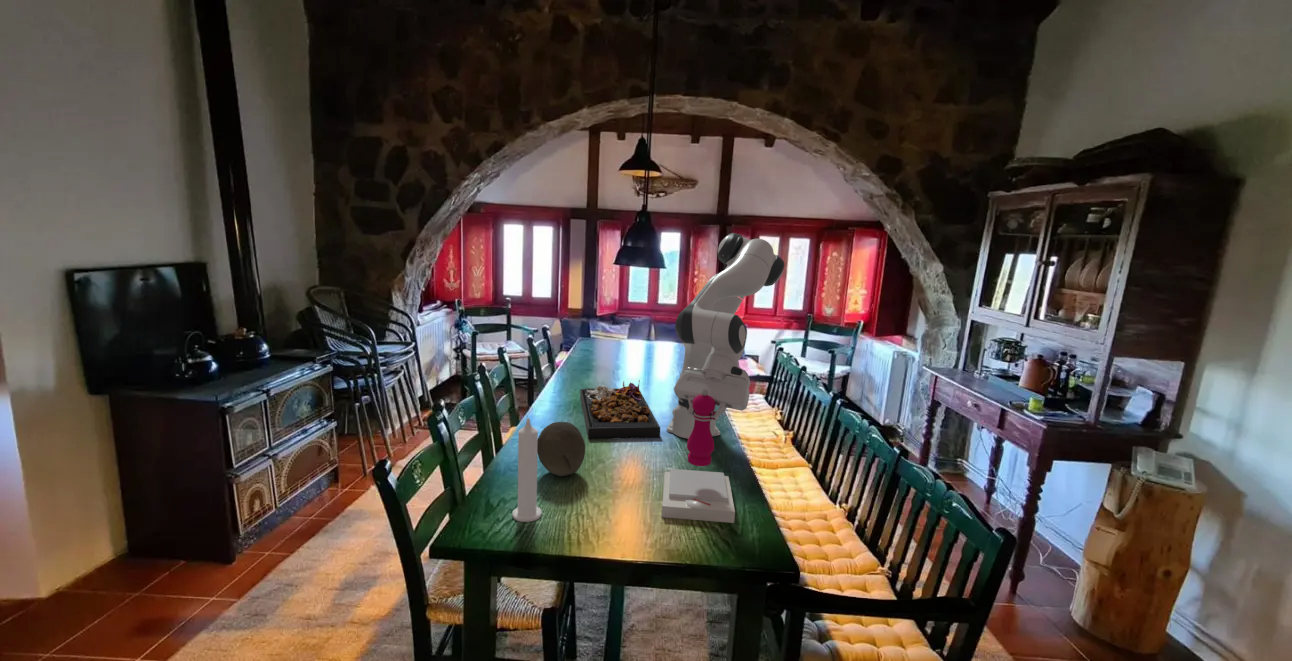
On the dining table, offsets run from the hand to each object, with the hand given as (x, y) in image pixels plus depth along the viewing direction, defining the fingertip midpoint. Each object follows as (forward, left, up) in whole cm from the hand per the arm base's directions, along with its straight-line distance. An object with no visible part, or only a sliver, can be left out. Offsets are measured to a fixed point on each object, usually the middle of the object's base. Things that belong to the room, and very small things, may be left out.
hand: (702, 416), depth 145 cm
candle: (+16, -42, -23) cm, 50 cm away
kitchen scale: (+2, 0, -23) cm, 23 cm away
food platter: (-61, -29, -24) cm, 71 cm away
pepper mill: (-1, 0, -13) cm, 13 cm away
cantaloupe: (-8, -39, -23) cm, 46 cm away
